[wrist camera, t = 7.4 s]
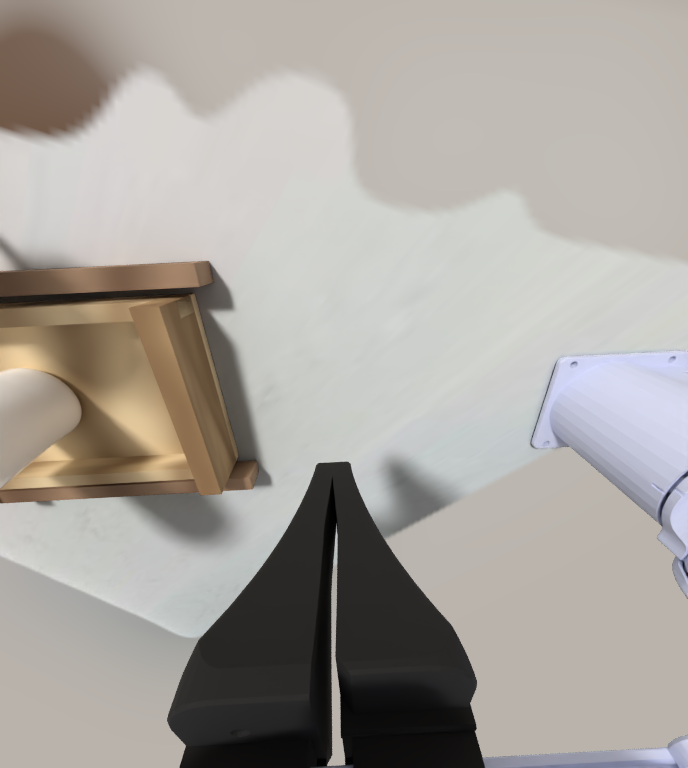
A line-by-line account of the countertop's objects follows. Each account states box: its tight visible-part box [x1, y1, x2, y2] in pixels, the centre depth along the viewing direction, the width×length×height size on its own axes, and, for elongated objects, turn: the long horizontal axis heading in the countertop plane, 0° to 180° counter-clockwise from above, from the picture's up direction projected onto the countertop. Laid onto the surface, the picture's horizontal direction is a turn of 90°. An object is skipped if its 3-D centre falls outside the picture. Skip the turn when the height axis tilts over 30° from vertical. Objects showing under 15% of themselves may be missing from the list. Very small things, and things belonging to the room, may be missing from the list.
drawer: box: [0, 294, 239, 495], centre depth 19 cm, size 18×13×4 cm
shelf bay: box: [0, 261, 259, 503], centre depth 19 cm, size 21×17×3 cm
